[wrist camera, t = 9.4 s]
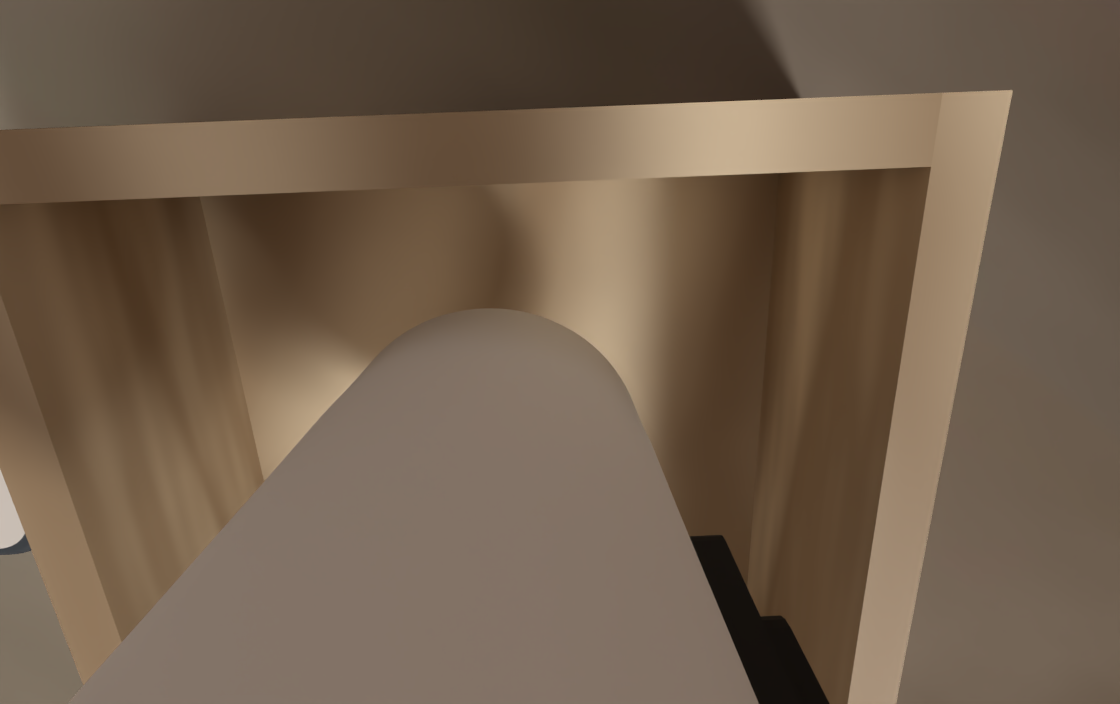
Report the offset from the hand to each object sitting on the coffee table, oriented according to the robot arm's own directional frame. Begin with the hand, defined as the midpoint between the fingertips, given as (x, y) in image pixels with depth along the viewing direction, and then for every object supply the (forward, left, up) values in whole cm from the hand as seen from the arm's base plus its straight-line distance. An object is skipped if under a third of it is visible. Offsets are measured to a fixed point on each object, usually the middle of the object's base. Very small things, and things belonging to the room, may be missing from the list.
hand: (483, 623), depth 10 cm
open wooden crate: (0, 0, -8) cm, 8 cm away
